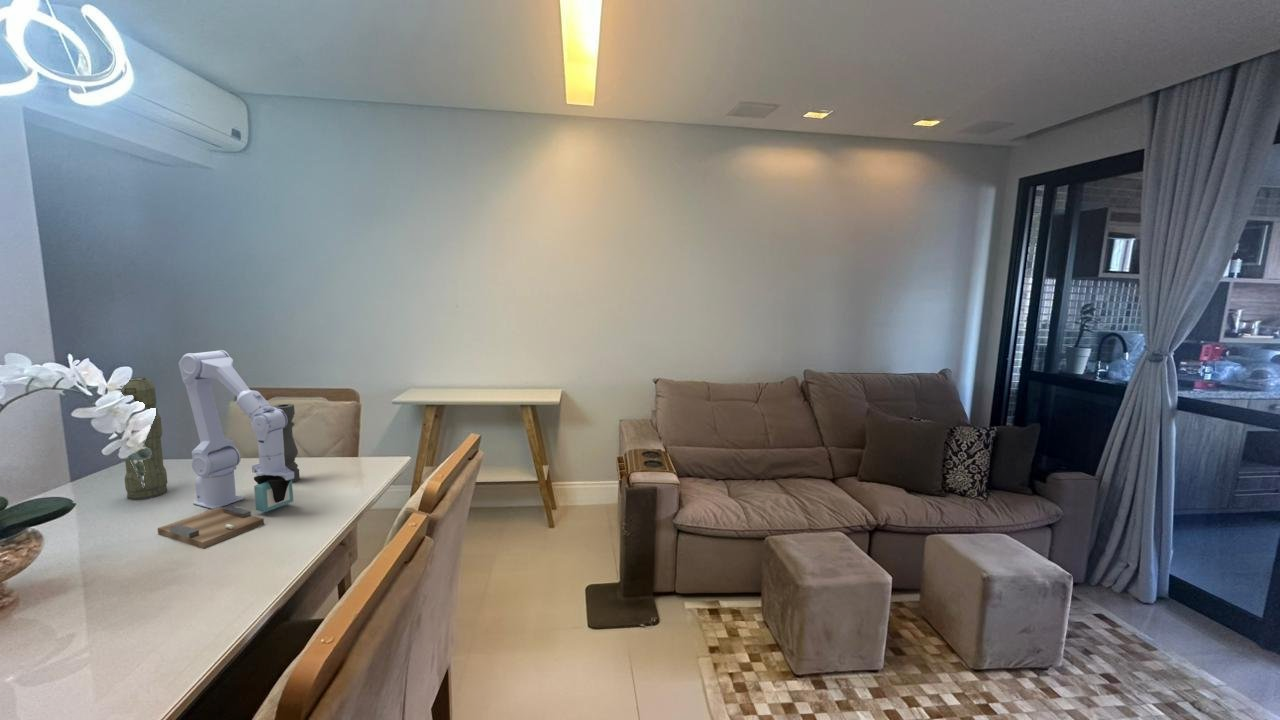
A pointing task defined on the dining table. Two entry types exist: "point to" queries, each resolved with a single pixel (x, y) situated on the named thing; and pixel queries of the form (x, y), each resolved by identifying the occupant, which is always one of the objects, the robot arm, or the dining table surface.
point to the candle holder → (289, 441)
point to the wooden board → (211, 526)
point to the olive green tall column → (153, 466)
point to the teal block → (270, 497)
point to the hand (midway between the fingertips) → (274, 499)
